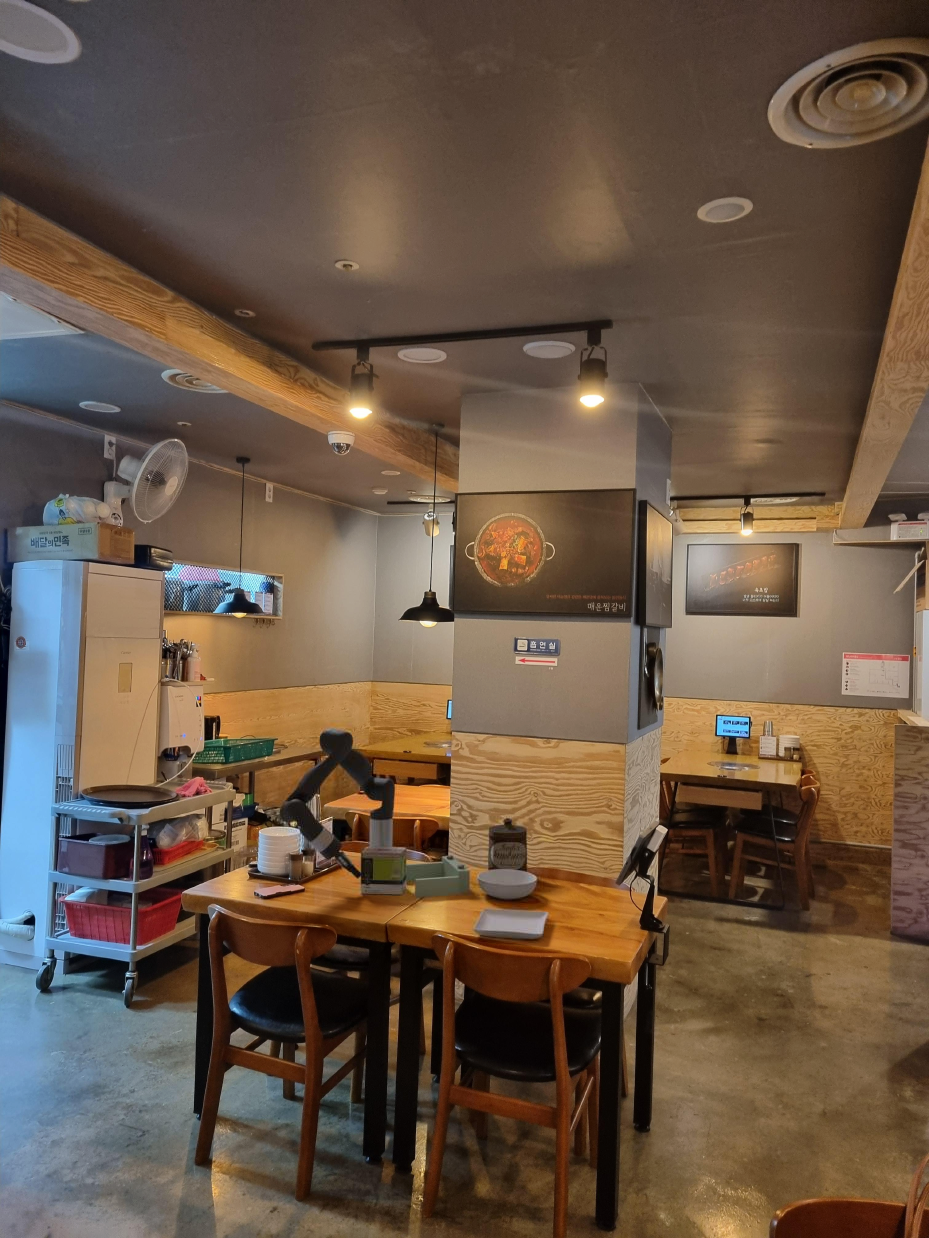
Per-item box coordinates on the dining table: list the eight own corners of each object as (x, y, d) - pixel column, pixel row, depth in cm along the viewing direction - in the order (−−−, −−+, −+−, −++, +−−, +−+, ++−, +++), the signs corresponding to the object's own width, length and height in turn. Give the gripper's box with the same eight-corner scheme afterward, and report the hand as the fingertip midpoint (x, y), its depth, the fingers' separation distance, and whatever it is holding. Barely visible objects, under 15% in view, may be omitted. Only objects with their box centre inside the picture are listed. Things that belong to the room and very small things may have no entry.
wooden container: (490, 881, 316) (491, 822, 317) (486, 871, 331) (486, 814, 332) (529, 881, 317) (530, 822, 318) (523, 870, 332) (524, 814, 333)
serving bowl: (533, 907, 286) (533, 886, 287) (472, 902, 290) (472, 882, 291) (540, 889, 307) (540, 870, 307) (483, 885, 311) (483, 866, 311)
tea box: (406, 887, 307) (407, 846, 307) (402, 895, 297) (402, 853, 297) (365, 886, 308) (366, 845, 309) (359, 894, 298) (360, 851, 299)
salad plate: (472, 939, 254) (472, 928, 254) (483, 917, 275) (483, 907, 275) (542, 945, 251) (542, 933, 251) (548, 922, 271) (548, 911, 272)
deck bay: (401, 880, 316) (401, 856, 316) (451, 877, 322) (452, 853, 322) (415, 897, 295) (416, 871, 295) (469, 893, 301) (469, 867, 301)
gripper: (336, 839, 292) (370, 872, 295) (330, 830, 304) (363, 863, 308) (320, 855, 290) (355, 889, 293) (315, 846, 303) (348, 879, 306)
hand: (359, 876), depth 300 cm, fingers closed
